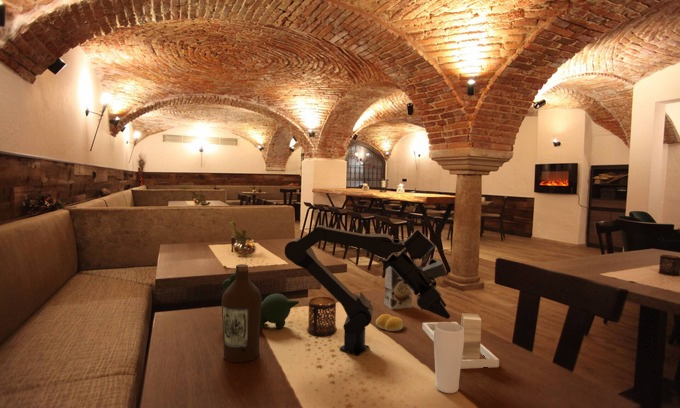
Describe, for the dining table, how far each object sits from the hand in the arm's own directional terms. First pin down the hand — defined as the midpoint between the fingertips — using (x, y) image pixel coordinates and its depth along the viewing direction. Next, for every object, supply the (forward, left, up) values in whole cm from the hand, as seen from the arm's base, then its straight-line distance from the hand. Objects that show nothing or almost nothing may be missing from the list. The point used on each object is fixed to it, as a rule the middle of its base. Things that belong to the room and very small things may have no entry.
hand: (447, 311), depth 110 cm
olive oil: (-33, +46, -13) cm, 58 cm away
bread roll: (+11, +23, -13) cm, 29 cm away
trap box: (+9, 0, -13) cm, 16 cm away
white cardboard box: (+32, +30, -13) cm, 46 cm away
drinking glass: (-16, -6, -13) cm, 22 cm away
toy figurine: (-15, +57, -13) cm, 60 cm away
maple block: (+3, -6, -13) cm, 14 cm away
